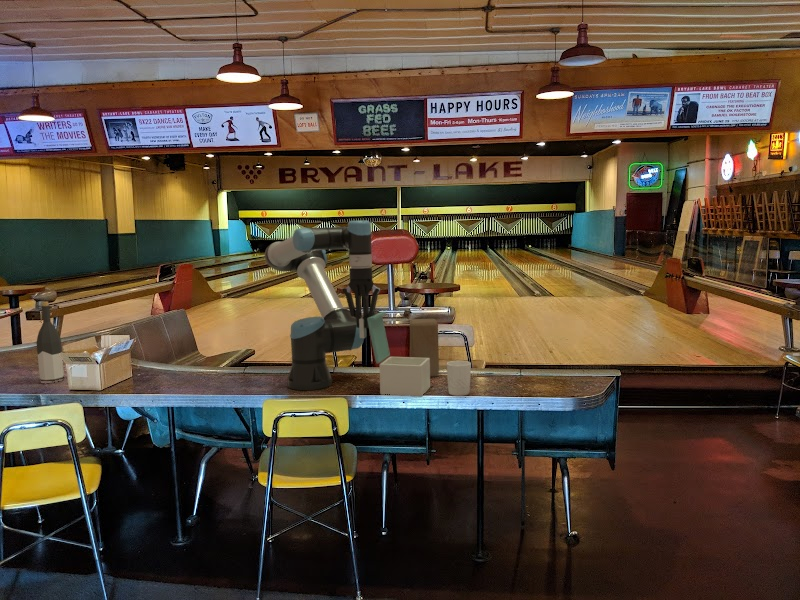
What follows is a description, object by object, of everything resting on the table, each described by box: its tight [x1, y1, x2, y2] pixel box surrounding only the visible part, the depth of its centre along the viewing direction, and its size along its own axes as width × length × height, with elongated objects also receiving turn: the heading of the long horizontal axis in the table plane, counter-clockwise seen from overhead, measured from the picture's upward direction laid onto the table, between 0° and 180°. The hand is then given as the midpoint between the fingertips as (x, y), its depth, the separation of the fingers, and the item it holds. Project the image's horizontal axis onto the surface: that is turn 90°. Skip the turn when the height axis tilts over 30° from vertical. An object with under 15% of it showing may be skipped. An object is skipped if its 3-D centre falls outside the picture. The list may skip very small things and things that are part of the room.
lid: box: [367, 311, 391, 364], centre depth 211 cm, size 15×13×2 cm
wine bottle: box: [36, 301, 65, 381], centre depth 235 cm, size 8×8×30 cm
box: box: [378, 356, 431, 397], centre depth 210 cm, size 14×12×10 cm
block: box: [409, 318, 440, 378], centre depth 231 cm, size 10×10×20 cm
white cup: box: [446, 360, 472, 397], centre depth 205 cm, size 8×8×10 cm
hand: (363, 337), depth 212 cm, fingers closed
